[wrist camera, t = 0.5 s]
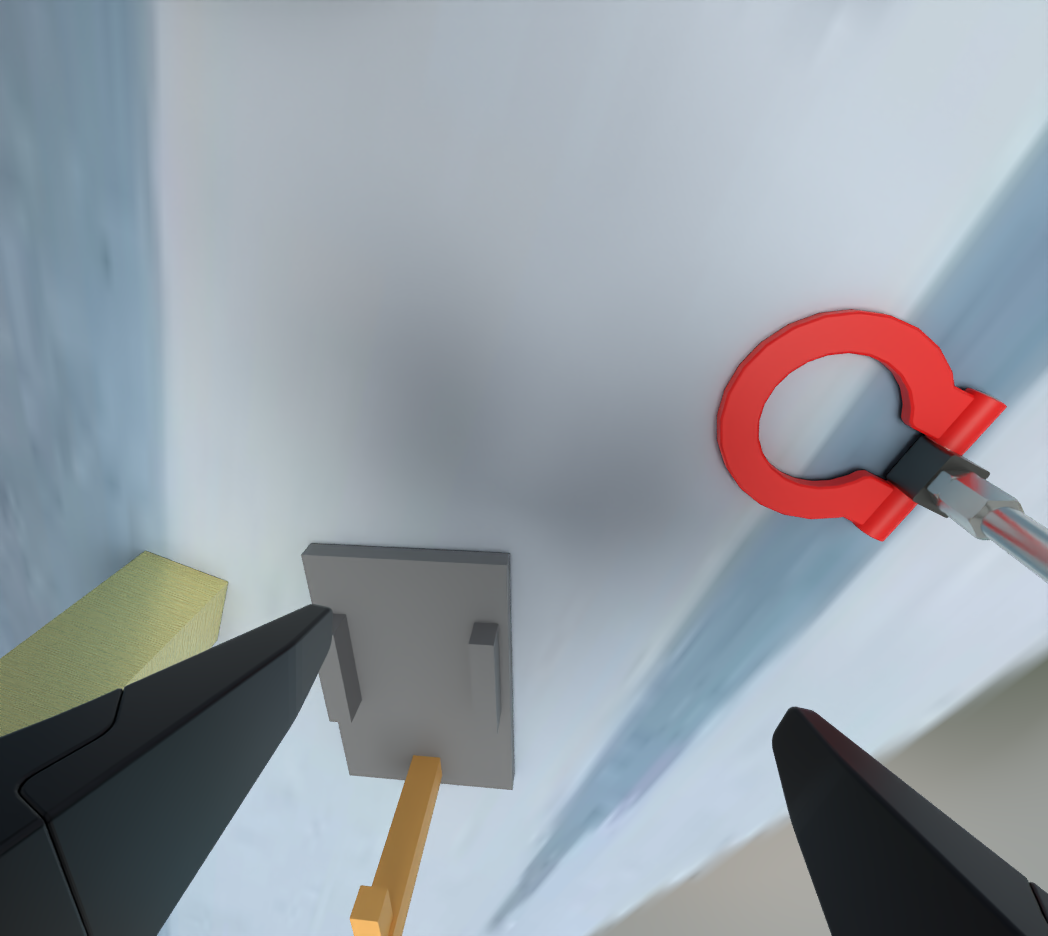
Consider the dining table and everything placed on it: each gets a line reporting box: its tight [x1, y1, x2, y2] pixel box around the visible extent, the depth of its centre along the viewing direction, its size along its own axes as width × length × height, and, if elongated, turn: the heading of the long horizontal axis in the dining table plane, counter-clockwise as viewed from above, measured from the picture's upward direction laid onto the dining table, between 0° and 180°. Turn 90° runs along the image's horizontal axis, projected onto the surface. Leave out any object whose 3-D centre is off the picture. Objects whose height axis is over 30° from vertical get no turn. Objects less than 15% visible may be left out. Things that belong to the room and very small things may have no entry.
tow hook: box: [717, 309, 1048, 583], centre depth 16 cm, size 8×13×9 cm
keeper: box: [301, 544, 514, 936], centre depth 25 cm, size 16×10×10 cm, turn 0°
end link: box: [0, 551, 228, 737], centre depth 23 cm, size 4×4×13 cm
